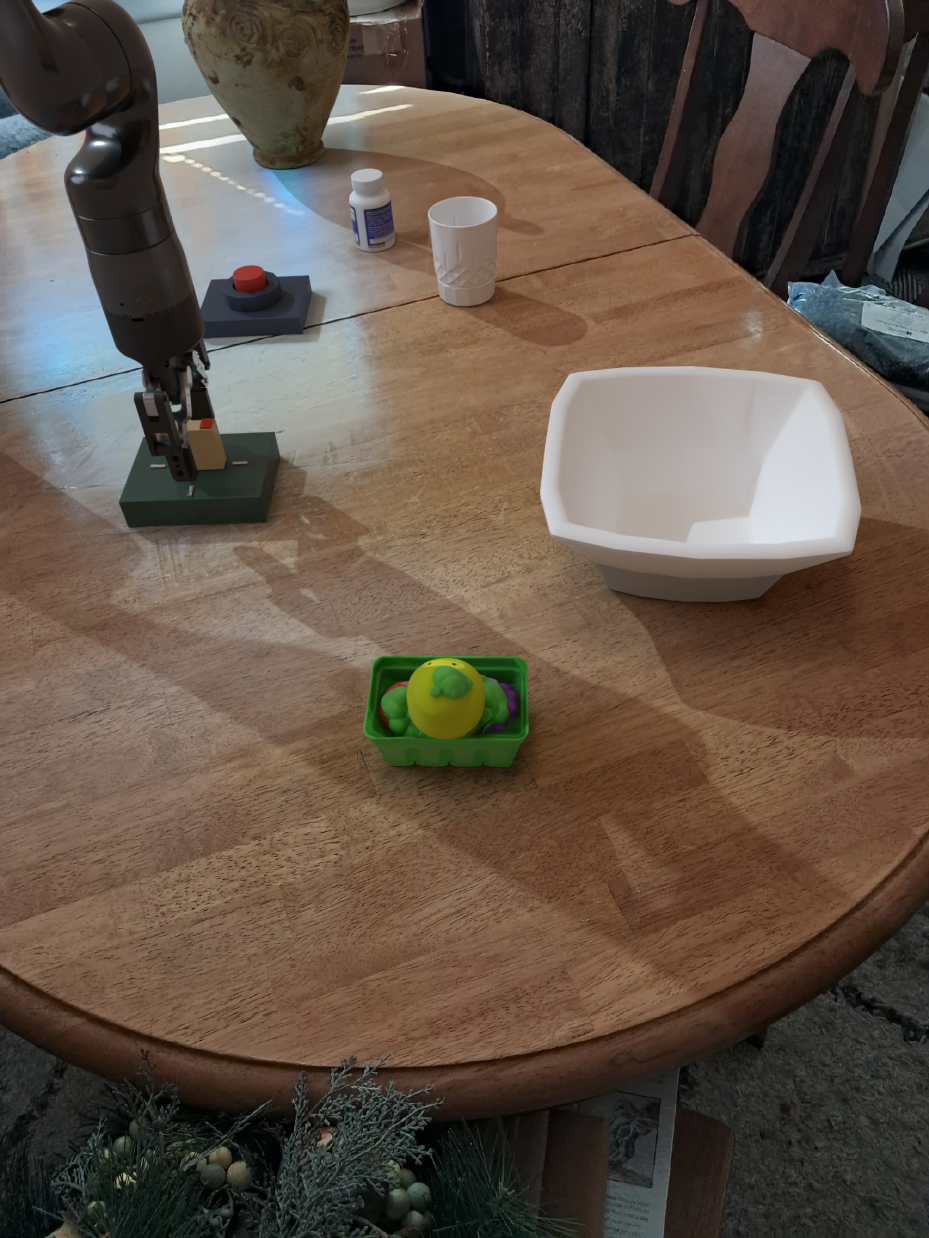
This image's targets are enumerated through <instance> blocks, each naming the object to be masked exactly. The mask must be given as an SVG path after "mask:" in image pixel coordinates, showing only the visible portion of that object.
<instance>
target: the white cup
mask: <svg viewBox="0 0 929 1238" xmlns="http://www.w3.org/2000/svg"><path fill="white" fill-rule="evenodd" d="M427 219H428V227H429V233H430V243H431V250H432V258H433V265H434V272H435V276H436V280H437V287H438V294H439V299H441V300H442V301H443V302H444V303H446V304H449V305H452V306H456V307H473V306H477V305H481V304H484V303H486V302H487V301H490V300H491V299H492V297H493V296H494V294H495V293H496V269H497V252H498V251H497V250H498V207H497V205H496V204H495V203H494V202H492V201H491V200H488V199H486V198H483V197H478V196H453V197H450V198H445V199H443V200H440V201H438V202H436V203H434V204H433V205H432V206H431V207H430V208H429V209H428V211H427Z"/></svg>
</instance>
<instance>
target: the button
mask: <svg viewBox="0 0 929 1238" xmlns="http://www.w3.org/2000/svg"><path fill="white" fill-rule="evenodd" d="M264 271H265V270H264V268H263V267H261V266H260V265H257V264H256V265H255V264H248V265H243V266H240V267H237V268H236V269H235V270H234V271H233V272H232V276H233V279H234V283H235V288H236V290H237V291H238V292H242V293H250V292H255V291H259V290H262V289H263V288H264V287H266V285H267V284H266V279H265V274H264Z"/></svg>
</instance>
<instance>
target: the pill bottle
mask: <svg viewBox="0 0 929 1238" xmlns="http://www.w3.org/2000/svg"><path fill="white" fill-rule="evenodd" d="M350 181H351V187H352V190H353V191H352V192H351V193H350V195H349V197H348V199H349V200H348V202H349V203H348V204H349V210H350V211H349V212H350V217H351V224H352V232H353V238H354V244H355V247H356V248H357V249H358V250H360V251H362V252H366V253H378V252H383V251H386V250H388V249H390V248H392V247H393V246H394V245H395V242H396V233H395V224H394V216H393V207H392V206H393V205H392V199H391V194H390V192H389V190H388V189H387V188H385V187H384V186H385V181H384V174H383V172H382V171H381V170H379V169H376V168H363V169H359V170H356V171H353V173H352V174H351V175H350Z"/></svg>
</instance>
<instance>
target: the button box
mask: <svg viewBox="0 0 929 1238" xmlns="http://www.w3.org/2000/svg"><path fill="white" fill-rule="evenodd" d="M264 274H265V279H266V284H267V285H266V287H264V288H263V289H262V290H259V291H255V292H250V293H242V292H238V291H237V290H236V288H235V283H234V279H233V275H231V276H230V277H228V278H215V279H211V280H210V282H209V285H208V287H207V289H206V292H205V295H204V298H203V300H202V303H201V307H200V311H201V314H202V318H203V322H204V326H205V331H204V335H203V339H220V338H221V339H222V338H223V339H224V338H244V337H245V338H246V337H270V336H294V335H303V333H304V328H305V324H306V320H307V316H308V310H309V307H310V302H311V298H312V292H313V291H312V285H311V280H310V279H311V278H310V275H309V274H306V275H305V274H303V275H302V274H301V275H283V276H282V275H281V276H277V275H276V274H275V273H274V272H272V271H268V270H264Z"/></svg>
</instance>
